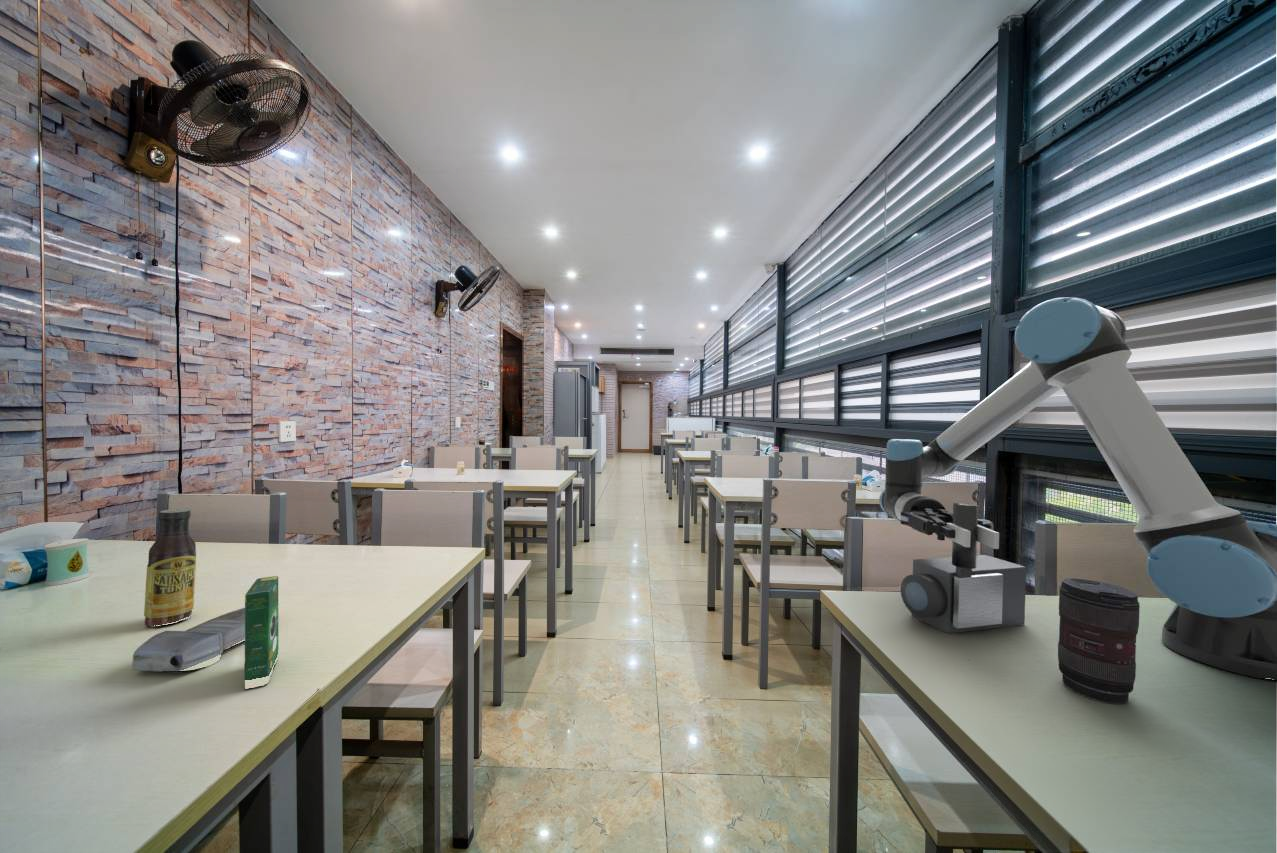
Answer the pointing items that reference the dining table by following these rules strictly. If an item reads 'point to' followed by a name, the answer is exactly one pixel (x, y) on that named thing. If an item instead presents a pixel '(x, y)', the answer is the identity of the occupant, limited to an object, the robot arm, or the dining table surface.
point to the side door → (973, 578)
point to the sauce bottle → (171, 570)
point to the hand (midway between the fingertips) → (982, 539)
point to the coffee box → (261, 628)
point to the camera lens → (1098, 639)
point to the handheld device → (190, 644)
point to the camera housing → (934, 591)
